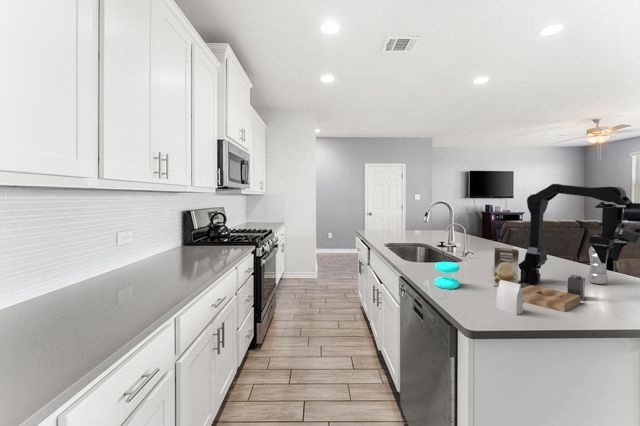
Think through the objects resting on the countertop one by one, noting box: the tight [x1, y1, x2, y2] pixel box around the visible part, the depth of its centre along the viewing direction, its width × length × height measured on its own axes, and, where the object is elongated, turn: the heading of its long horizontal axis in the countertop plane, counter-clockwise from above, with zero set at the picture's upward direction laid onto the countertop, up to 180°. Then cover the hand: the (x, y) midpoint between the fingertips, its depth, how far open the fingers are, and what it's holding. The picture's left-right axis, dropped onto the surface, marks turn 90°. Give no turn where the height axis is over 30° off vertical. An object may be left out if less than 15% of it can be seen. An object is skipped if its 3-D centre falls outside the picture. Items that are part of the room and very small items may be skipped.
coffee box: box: [491, 247, 520, 288], centre depth 137 cm, size 9×6×16 cm
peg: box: [566, 274, 586, 302], centre depth 120 cm, size 4×4×9 cm
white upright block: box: [495, 280, 524, 316], centre depth 107 cm, size 4×7×10 cm, turn 29°
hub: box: [521, 285, 581, 313], centre depth 117 cm, size 16×14×3 cm
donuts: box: [434, 261, 461, 290], centre depth 137 cm, size 10×10×10 cm
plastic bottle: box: [587, 245, 609, 285], centre depth 139 cm, size 6×7×20 cm
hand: (609, 262), depth 118 cm, fingers open, 9 cm apart
